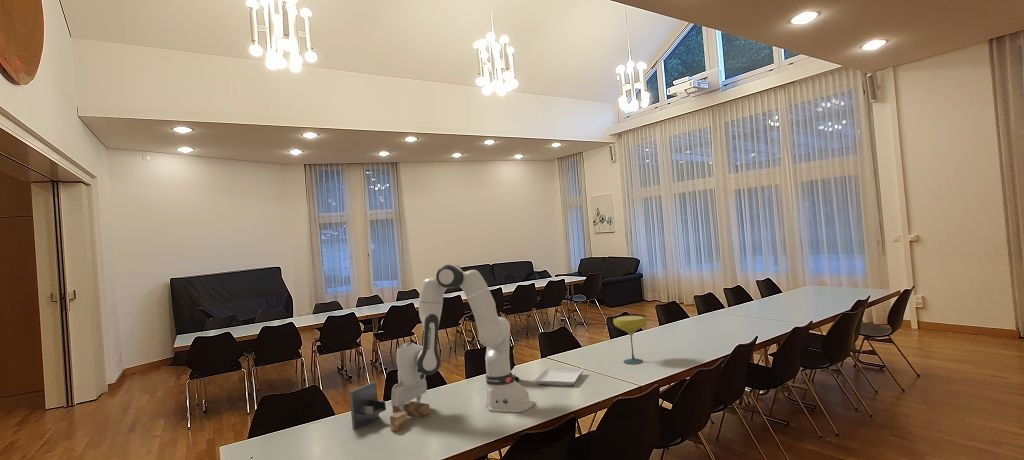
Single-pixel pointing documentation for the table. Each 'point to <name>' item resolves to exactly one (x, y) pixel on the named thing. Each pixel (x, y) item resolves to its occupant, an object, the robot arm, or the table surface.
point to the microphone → (512, 360)
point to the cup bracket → (365, 404)
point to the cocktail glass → (630, 329)
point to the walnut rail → (414, 409)
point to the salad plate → (559, 376)
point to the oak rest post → (398, 421)
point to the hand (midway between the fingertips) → (410, 409)
